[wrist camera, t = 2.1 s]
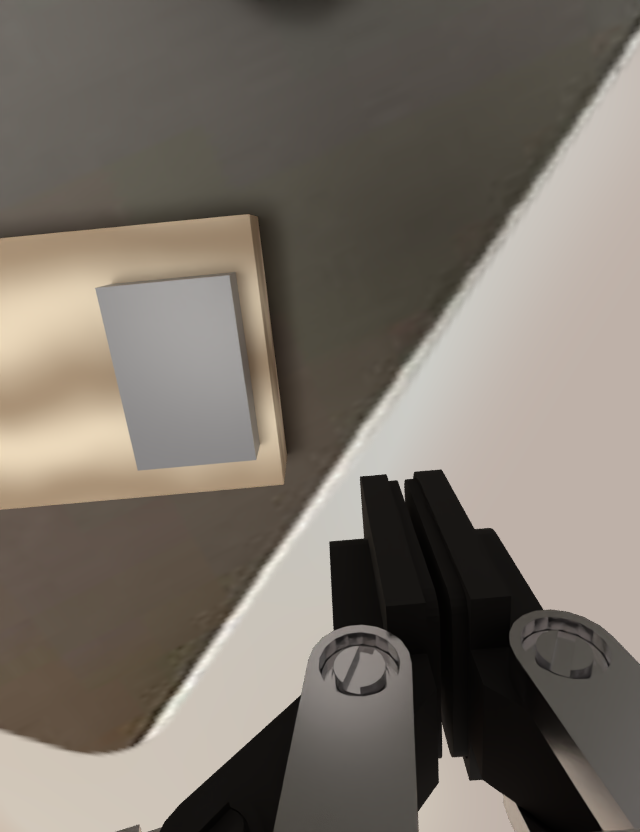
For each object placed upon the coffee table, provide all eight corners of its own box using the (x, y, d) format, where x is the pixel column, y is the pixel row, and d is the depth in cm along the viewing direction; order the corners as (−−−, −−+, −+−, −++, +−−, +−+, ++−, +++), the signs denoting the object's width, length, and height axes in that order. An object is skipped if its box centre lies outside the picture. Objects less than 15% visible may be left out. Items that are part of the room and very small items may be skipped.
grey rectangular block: (111, 283, 25) (95, 288, 23) (235, 271, 24) (229, 275, 23) (149, 454, 28) (137, 470, 26) (259, 444, 28) (256, 460, 26)
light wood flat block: (-73, 248, 28) (-133, 251, 24) (257, 216, 27) (249, 214, 24) (4, 480, 32) (-36, 512, 29) (287, 454, 32) (283, 484, 28)
